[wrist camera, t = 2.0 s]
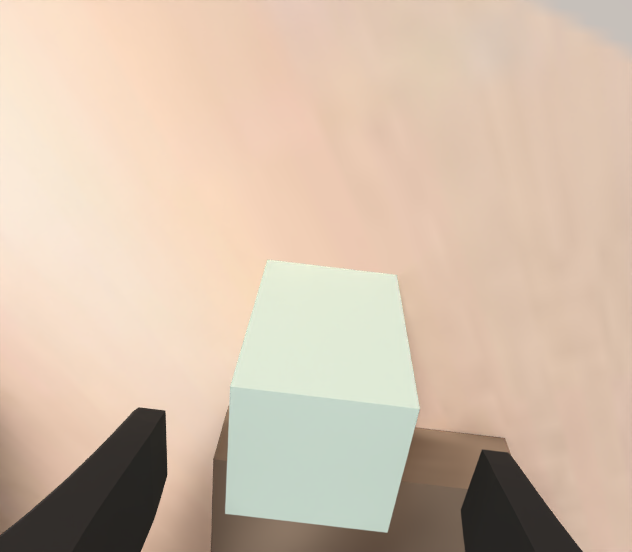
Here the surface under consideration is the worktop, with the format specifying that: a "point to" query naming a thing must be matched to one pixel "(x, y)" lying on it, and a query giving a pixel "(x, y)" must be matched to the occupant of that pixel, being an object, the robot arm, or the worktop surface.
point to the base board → (408, 514)
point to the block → (321, 399)
